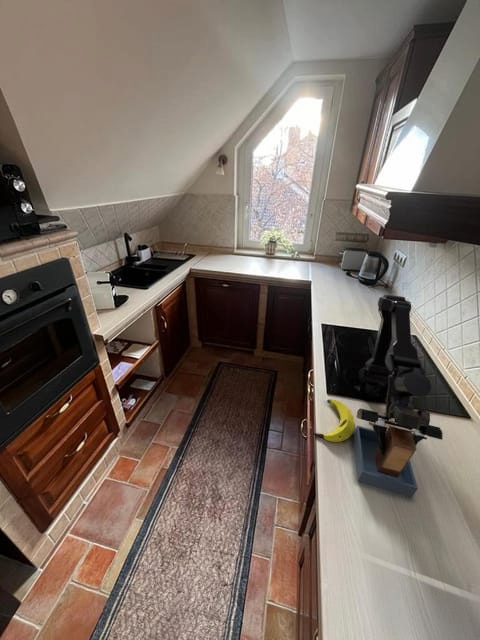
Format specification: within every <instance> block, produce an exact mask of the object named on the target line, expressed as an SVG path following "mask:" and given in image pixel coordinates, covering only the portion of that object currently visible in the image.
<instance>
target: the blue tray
mask: <svg viewBox="0 0 480 640" xmlns="http://www.w3.org/2000/svg"><path fill="white" fill-rule="evenodd" d="M352 436H353V446H354V447H353V448H354V458H355V467H356V468H355V469H356V480H357V482H358V483H361V484H364V485H368V486H371V487H374V488H378V489H381V490H384V491H387V492H391V493H393V494H397V495H400V496H403V497H407V498H410V499H412V498H413V496H414V495H415V494H416V492H417V490H418V489H419V487H418V483H417V481H416V477H415V473H414V470H413V466H412V463H411V459H410V460H409V461H408V463H407V464H406V466H405V467H404V469H403V470H402V472H401V473H400V475H399V477H398V478H395V477H392V476H389V475H385V474H382V473H379V472H377V468H376V462H375V453H376V451H377V449H378V447H379V443H378V440H377V436H376V434H375V431H374V429H372V428H368V427H364V426H360V425H356V426H355V428H354V431H353V433H352Z"/></svg>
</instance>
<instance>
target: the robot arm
mask: <svg viewBox="0 0 480 640" xmlns="http://www.w3.org/2000/svg"><path fill="white" fill-rule="evenodd" d="M411 303H412V301H410V300H406V297H405V296H401V295H400V296H399V295H394V294H386V293H385V294H383V296H380V297H379V298H378V301H377V307H378V308H377V312H378V314H379V317H380V323H379V326H378V330H377V335H376V339H375V343H374V347H373V351H372V355H371V358H369V359H368V360H367V361H365V363H364V364H365V365H364V367H361V368H360V369H359V371H358V378H359V382H358V385H357V386H354V390H355V391H357V392H358V394H359V395H360V396H361V397H363V399H365V400H370V399H375V398H377V397H379V396H380V394H379V392H380V389H381V388H380V387H385V386H386V385H387V391H386V397H385V398H384V399H385V400H384V401H385V410H384V412H383V415H380V414H379V412H377V411H373V410H370V409H365V408H359V409H357V412H356V419H359V420H362V421H365V422H368V425H370V426H371V427H372V428H373V429H372V430H374V431H375V434H376V436H377V440H378V443H379V447H380V450H381V454H382V455H384V454H385V434H386V432H387V430H388V427H386V426H385V424H386V425H389V426H392V427H396V428H400V429H404V430H408V431H411V432H412V436H413V439H414V442H415V445H416V446H417V445H418V443H420V442H421V441H422V440H426V441H427V439H428V437H429V438H434V439H437V440H441V441H443V437H444V433H443V430H442V428H441V427H439V426H436V425H431V424H430V422H431V413H430V412H429V411H428V410H424V409H418V410H415V408H414V407H415V404H414V402H413V397H414V398H415V397H417V398H419V397H420V398H421V397H425V396H427V395H428V394H429V393H430V392H431V390H432V384H431V381H430V379H429V378H428V377H427V376H426V375H425V373H426V371H425V369H424V367H423V364H422V362H421V359H420V357H419V351H418V349H417V348H416V347H415V346H414V344H413V342H412V331H411V311H412V304H411ZM390 372H391V373H390Z"/></svg>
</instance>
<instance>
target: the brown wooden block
mask: <svg viewBox="0 0 480 640" xmlns="http://www.w3.org/2000/svg"><path fill="white" fill-rule="evenodd" d="M416 451H417V445H415V442H414V439H413V436H412V432H411V431H408V429H405V428H401V427H397V426H393V425H389V427H387V430H386V434H385V454H384V455H382V454H381V450H380V447H378V449H377V451H376V453H375V462H376V468H377V472H379V473H382V474H385V475H389V476H392V477H395V478H398V477H399V475H400V473H401V472H402V470H403V469H404V467H405V466H406V464H407V463H408V461H409V460H410V461H411V458H412V457H413V456H414V454H415V453H416Z"/></svg>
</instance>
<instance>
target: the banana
mask: <svg viewBox="0 0 480 640" xmlns="http://www.w3.org/2000/svg"><path fill="white" fill-rule="evenodd" d="M326 401H327V403H328V404H329V405H331V406H332V407H333V408H334V409H335V411H336V412H337V413H338V416H339V418H340V421H339V424H338V425H337V427H336V428H335V429H334V430H333V431H331V432H329V433H318V432H315V433H314V432H313V434H312V435H313V436H316V437H317V438H318V439H324V440H326V441H327V442H329V443H341V442H343V441H346V440H348V439H349V438H350V437H351V436H353V434H354V431H355V429H356V423H355V418H354V414H353V413H352V411H351V409H350V408H349V407H348V406H347V405H346V404H345V403H344V402H342V401H340V400H337V399H327V400H326Z"/></svg>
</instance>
